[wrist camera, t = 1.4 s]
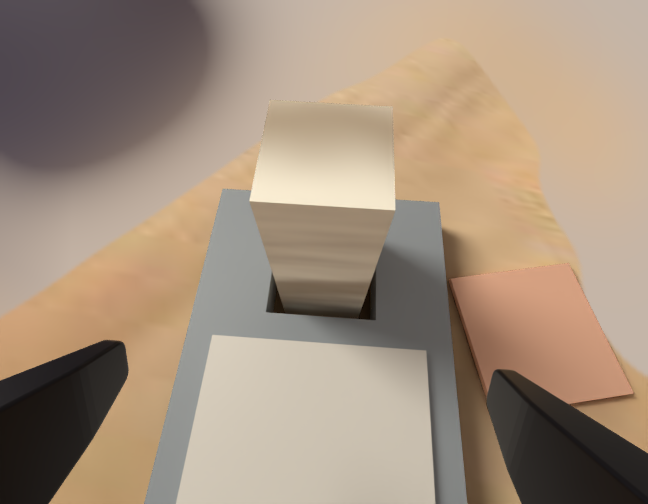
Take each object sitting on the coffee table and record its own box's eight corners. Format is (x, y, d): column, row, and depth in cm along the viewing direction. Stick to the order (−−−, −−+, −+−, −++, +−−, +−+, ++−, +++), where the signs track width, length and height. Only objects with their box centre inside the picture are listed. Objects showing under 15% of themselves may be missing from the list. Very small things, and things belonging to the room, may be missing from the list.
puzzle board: (459, 636, 15) (487, 680, 12) (141, 606, 15) (104, 642, 13) (428, 222, 24) (441, 198, 22) (231, 210, 25) (221, 184, 22)
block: (358, 318, 21) (395, 210, 11) (285, 313, 21) (249, 201, 11) (359, 253, 23) (392, 106, 13) (293, 248, 23) (270, 99, 13)
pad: (628, 394, 19) (634, 393, 19) (492, 415, 19) (495, 415, 19) (564, 265, 23) (568, 263, 23) (448, 280, 22) (450, 278, 22)
